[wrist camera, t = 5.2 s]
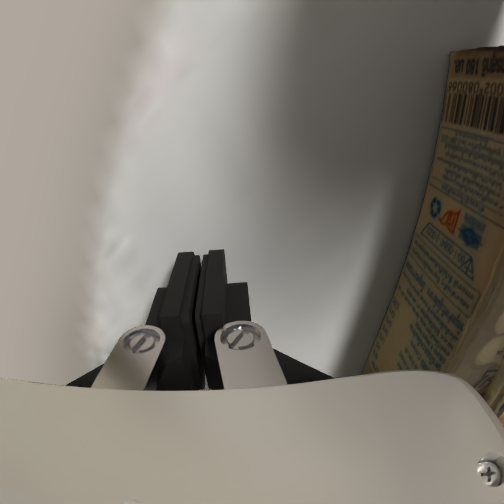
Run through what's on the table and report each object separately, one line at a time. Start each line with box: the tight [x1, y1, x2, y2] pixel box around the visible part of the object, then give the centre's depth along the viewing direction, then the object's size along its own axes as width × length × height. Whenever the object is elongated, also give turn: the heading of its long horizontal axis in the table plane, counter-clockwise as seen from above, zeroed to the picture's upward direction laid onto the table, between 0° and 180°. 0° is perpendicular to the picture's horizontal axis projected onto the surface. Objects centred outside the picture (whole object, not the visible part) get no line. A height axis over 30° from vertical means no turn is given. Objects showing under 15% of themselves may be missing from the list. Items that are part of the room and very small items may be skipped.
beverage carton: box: [361, 46, 504, 418], centre depth 11 cm, size 8×19×6 cm, turn 172°
